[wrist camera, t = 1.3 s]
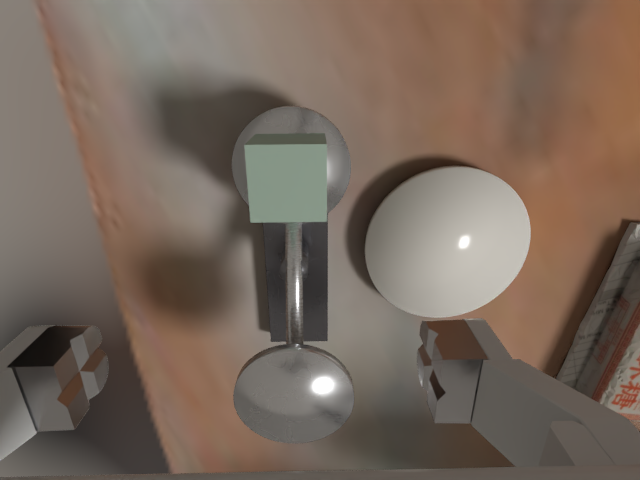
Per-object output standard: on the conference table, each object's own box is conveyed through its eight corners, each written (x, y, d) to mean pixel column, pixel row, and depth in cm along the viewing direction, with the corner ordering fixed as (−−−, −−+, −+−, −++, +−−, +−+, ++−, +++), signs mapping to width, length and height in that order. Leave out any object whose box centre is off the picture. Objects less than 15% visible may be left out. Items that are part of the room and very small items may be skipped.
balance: (235, 102, 28) (198, 120, 19) (347, 101, 28) (364, 118, 19) (257, 351, 37) (238, 444, 28) (343, 349, 37) (352, 442, 28)
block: (255, 133, 26) (244, 144, 22) (324, 133, 26) (326, 144, 22) (260, 200, 28) (250, 222, 23) (324, 199, 28) (326, 221, 23)
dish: (366, 164, 30) (368, 168, 29) (536, 162, 30) (546, 166, 29) (360, 308, 35) (362, 318, 34) (505, 306, 36) (513, 316, 34)
